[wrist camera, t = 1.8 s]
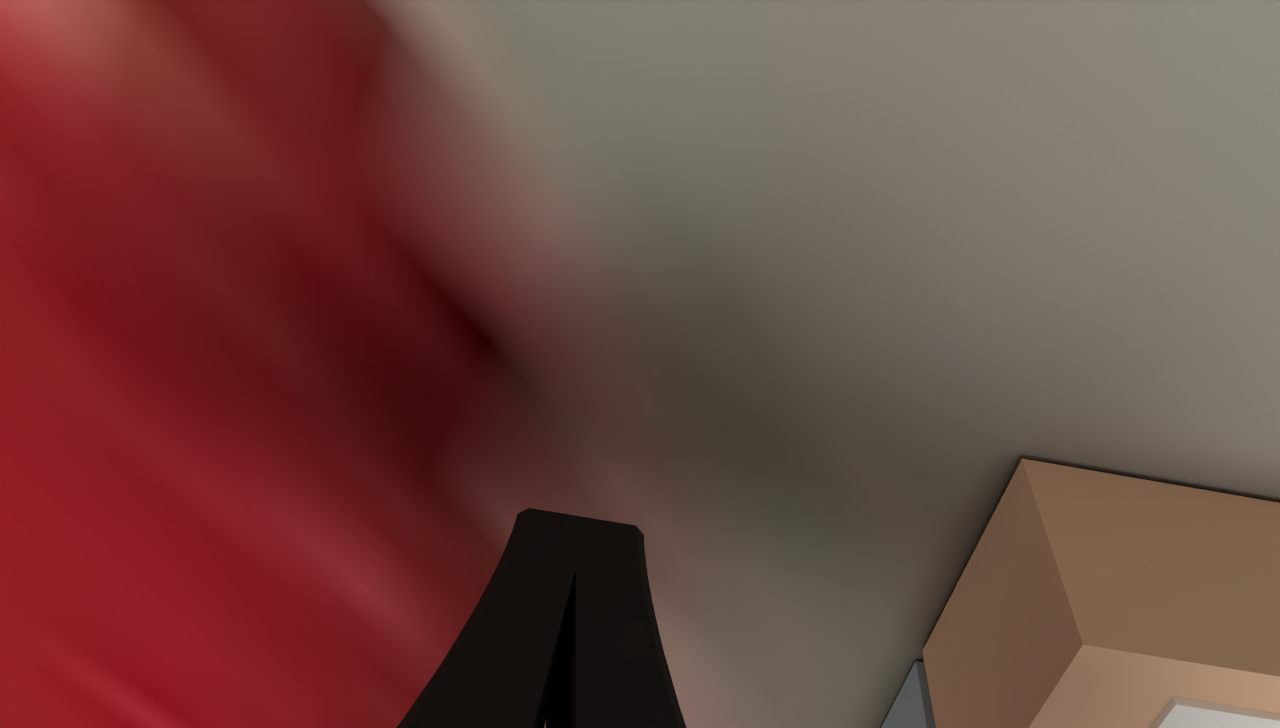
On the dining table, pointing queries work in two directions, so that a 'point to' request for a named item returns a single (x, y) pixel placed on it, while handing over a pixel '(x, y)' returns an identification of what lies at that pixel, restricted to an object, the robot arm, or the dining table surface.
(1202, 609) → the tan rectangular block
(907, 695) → the pad
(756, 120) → the dining table surface
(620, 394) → the dining table surface
